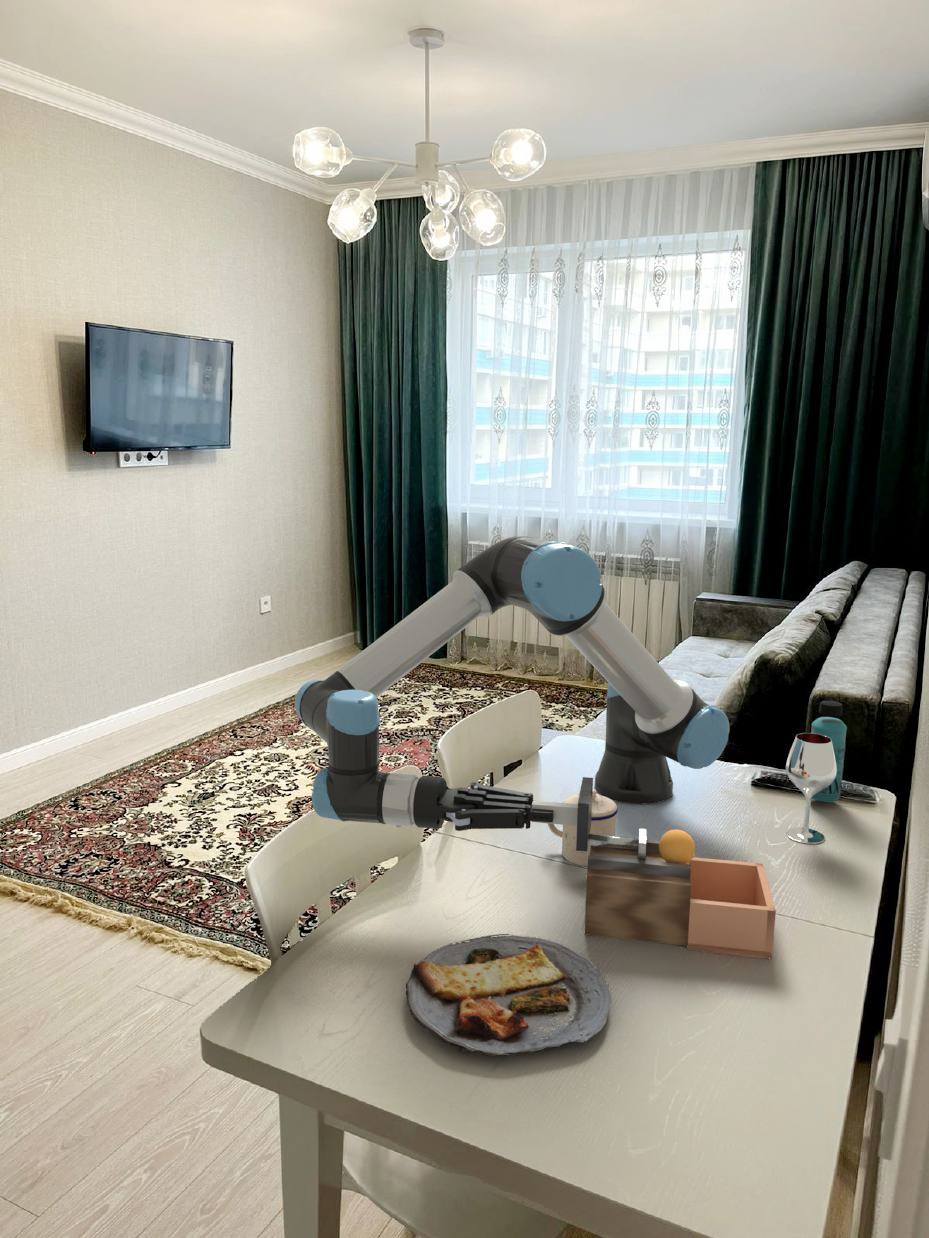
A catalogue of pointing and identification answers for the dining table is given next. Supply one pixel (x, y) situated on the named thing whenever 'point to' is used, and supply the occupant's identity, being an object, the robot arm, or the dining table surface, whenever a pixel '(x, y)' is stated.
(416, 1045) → the dining table surface
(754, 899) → the cup
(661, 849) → the ball
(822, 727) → the beverage bottle
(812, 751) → the wineglass
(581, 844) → the plunger
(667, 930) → the launcher
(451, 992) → the food plate
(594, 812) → the teacup with lid
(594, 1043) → the dining table surface
